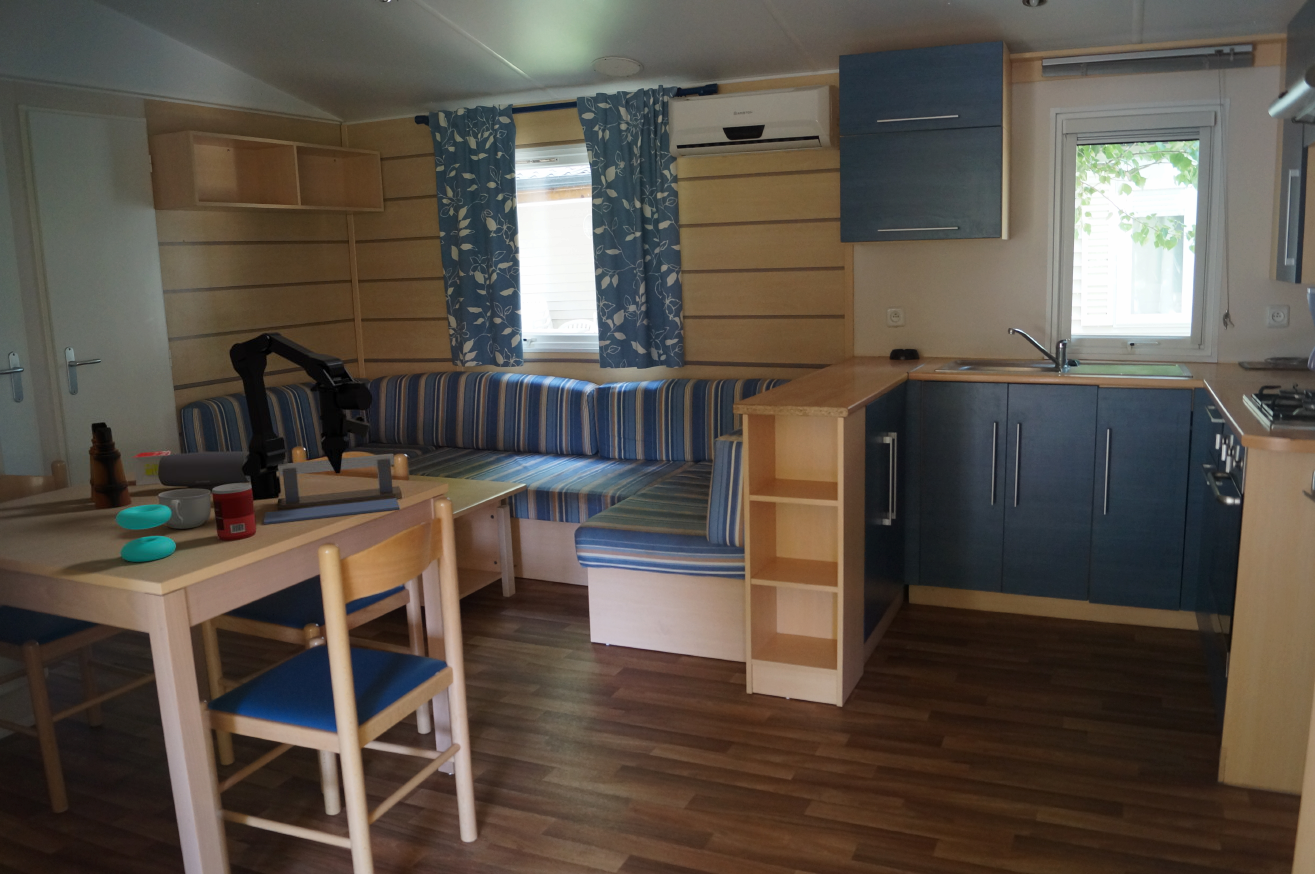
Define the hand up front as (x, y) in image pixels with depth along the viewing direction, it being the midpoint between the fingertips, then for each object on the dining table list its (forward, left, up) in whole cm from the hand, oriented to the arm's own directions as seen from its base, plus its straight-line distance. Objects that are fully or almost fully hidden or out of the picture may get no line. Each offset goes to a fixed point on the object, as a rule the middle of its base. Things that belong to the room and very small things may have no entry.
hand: (337, 472), depth 241 cm
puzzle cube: (-49, +54, -8) cm, 73 cm away
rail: (0, 0, +1) cm, 1 cm away
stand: (0, 0, -7) cm, 7 cm away
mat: (-2, -11, -7) cm, 13 cm away
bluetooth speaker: (-33, +35, -8) cm, 49 cm away
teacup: (-34, -10, -8) cm, 36 cm away
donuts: (-38, -33, -8) cm, 51 cm away
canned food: (-22, -24, -8) cm, 33 cm away
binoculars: (-56, +30, -8) cm, 64 cm away
